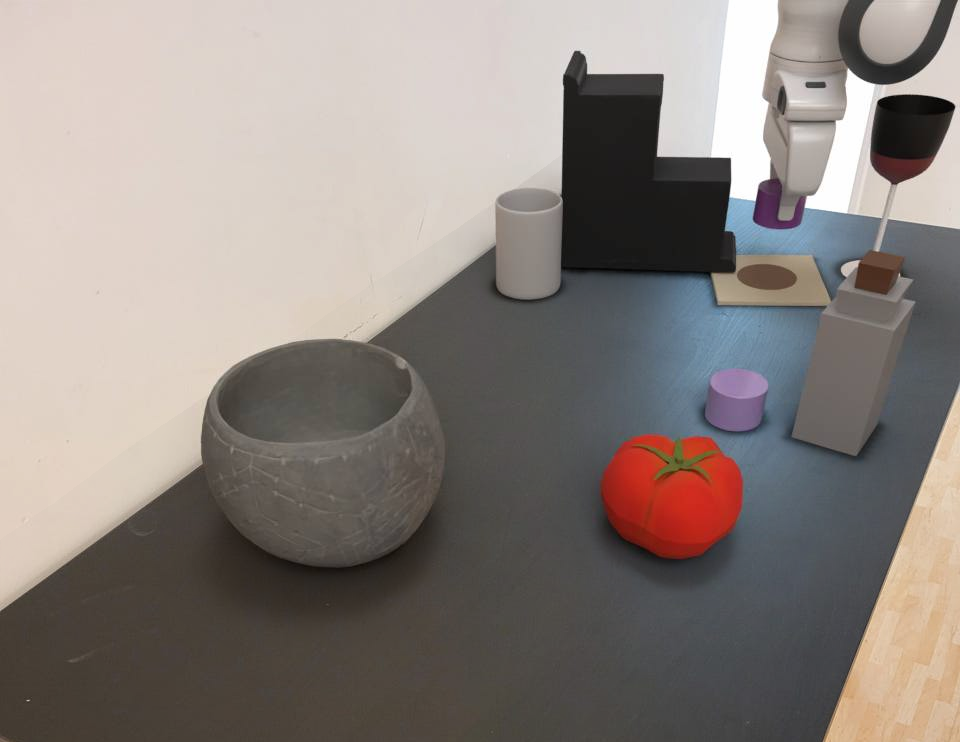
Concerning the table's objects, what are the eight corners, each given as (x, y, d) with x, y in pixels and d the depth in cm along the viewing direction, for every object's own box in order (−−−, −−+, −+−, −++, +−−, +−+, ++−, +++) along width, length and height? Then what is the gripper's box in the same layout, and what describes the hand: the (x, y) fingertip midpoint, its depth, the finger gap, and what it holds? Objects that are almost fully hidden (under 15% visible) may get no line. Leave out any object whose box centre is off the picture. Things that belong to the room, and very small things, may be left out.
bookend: (735, 241, 130) (761, 46, 114) (735, 274, 123) (763, 71, 106) (568, 238, 134) (570, 50, 118) (559, 271, 127) (559, 74, 110)
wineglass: (909, 286, 120) (961, 115, 106) (839, 283, 122) (882, 114, 107) (900, 260, 126) (948, 94, 112) (833, 258, 127) (872, 93, 113)
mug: (557, 301, 120) (560, 214, 112) (491, 298, 121) (490, 211, 114) (565, 262, 129) (568, 178, 121) (504, 260, 130) (503, 176, 122)
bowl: (186, 524, 89) (142, 383, 79) (365, 441, 99) (347, 305, 88) (305, 641, 78) (272, 494, 67) (495, 535, 87) (493, 391, 76)
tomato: (773, 549, 84) (793, 468, 78) (661, 598, 80) (673, 516, 74) (678, 473, 93) (689, 394, 87) (572, 514, 89) (576, 434, 83)
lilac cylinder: (757, 401, 102) (764, 368, 99) (765, 432, 98) (772, 398, 95) (702, 401, 102) (707, 367, 100) (707, 431, 98) (712, 397, 95)
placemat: (811, 259, 127) (812, 254, 127) (830, 306, 117) (831, 300, 117) (706, 258, 128) (707, 253, 128) (717, 305, 118) (718, 300, 118)
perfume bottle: (791, 437, 97) (833, 265, 84) (814, 407, 101) (857, 239, 88) (856, 456, 94) (909, 282, 82) (876, 425, 98) (930, 254, 85)
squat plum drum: (749, 210, 120) (755, 177, 117) (797, 211, 119) (804, 178, 116) (755, 229, 115) (761, 195, 112) (805, 229, 115) (812, 196, 112)
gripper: (763, 56, 114) (743, 176, 124) (790, 108, 99) (765, 239, 109) (816, 56, 113) (792, 176, 123) (850, 108, 99) (820, 240, 109)
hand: (779, 206), depth 116 cm, fingers closed on squat plum drum, 6 cm apart
